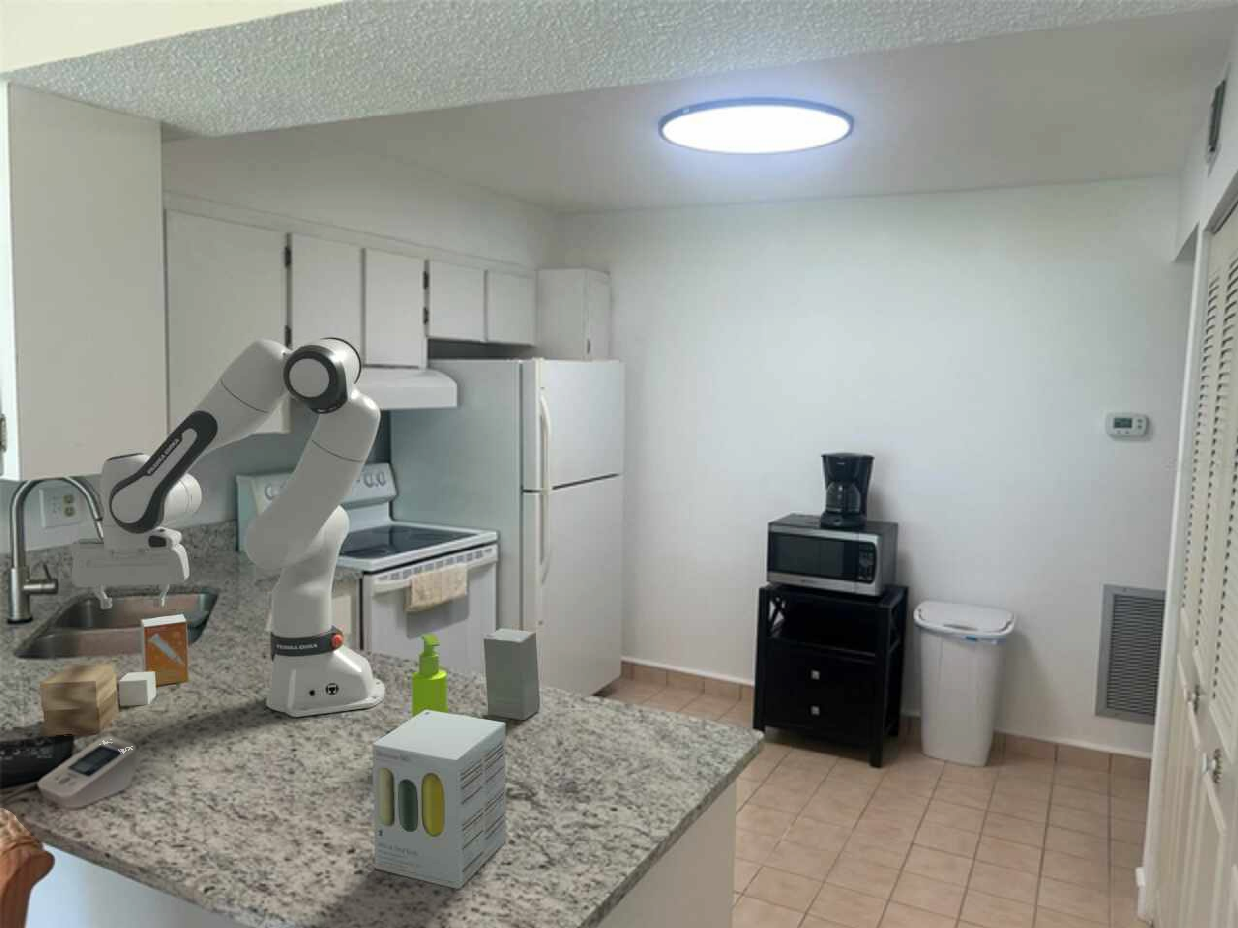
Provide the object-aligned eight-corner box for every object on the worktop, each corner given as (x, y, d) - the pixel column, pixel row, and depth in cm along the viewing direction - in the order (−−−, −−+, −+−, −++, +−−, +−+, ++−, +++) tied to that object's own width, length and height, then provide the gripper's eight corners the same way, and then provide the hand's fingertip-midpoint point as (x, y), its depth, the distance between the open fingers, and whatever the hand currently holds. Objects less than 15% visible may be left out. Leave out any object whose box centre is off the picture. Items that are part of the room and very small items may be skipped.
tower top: (116, 689, 169) (115, 664, 169) (97, 707, 160) (95, 680, 160) (64, 692, 168) (63, 666, 167) (42, 710, 159) (40, 683, 158)
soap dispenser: (419, 758, 152) (417, 644, 149) (409, 743, 158) (407, 632, 156) (453, 751, 154) (452, 639, 152) (441, 736, 161) (440, 628, 158)
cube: (156, 695, 180) (154, 671, 179) (148, 704, 175) (146, 679, 174) (129, 696, 179) (127, 672, 178) (120, 706, 174) (118, 681, 173)
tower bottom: (118, 714, 170) (117, 689, 169) (100, 734, 161) (98, 707, 160) (66, 717, 168) (64, 692, 168) (45, 737, 159) (43, 710, 159)
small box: (146, 688, 183) (143, 626, 181) (142, 679, 188) (139, 618, 187) (189, 681, 187) (187, 620, 186) (185, 672, 193) (182, 613, 191)
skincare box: (540, 710, 173) (540, 630, 171) (521, 723, 167) (521, 641, 165) (503, 703, 177) (502, 625, 175) (483, 716, 170) (482, 635, 168)
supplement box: (371, 869, 119) (368, 743, 117) (427, 822, 131) (425, 707, 129) (459, 891, 114) (457, 760, 112) (508, 840, 126) (507, 721, 124)
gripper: (63, 541, 168) (67, 613, 169) (180, 538, 172) (184, 609, 173) (76, 535, 174) (80, 604, 176) (189, 532, 178) (192, 600, 179)
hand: (133, 606), depth 174 cm, fingers open, 8 cm apart
